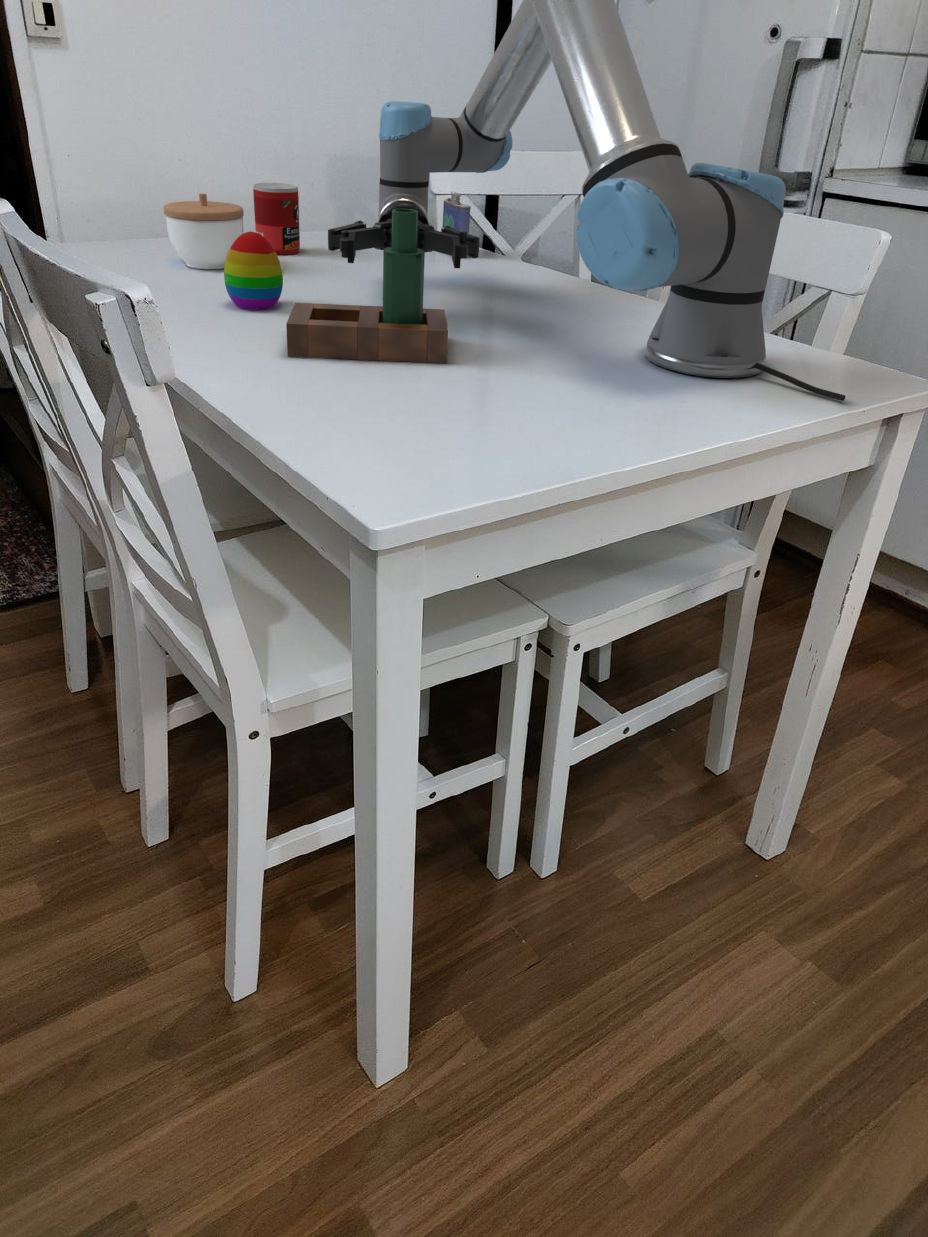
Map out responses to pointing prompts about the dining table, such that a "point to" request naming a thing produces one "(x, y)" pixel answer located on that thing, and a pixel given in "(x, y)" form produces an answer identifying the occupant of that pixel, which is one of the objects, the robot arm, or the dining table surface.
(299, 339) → the rack
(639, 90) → the robot arm
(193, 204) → the lidded bowl
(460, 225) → the flask
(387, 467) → the dining table surface
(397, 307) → the bottle
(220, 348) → the dining table surface
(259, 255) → the decorative egg
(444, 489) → the dining table surface
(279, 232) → the canned food
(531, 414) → the dining table surface
